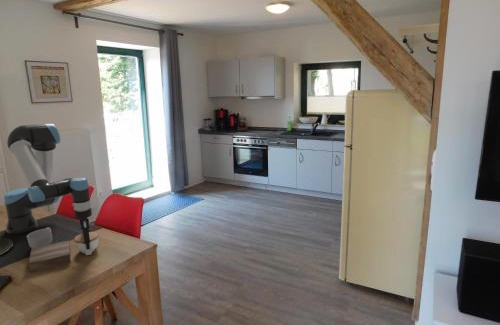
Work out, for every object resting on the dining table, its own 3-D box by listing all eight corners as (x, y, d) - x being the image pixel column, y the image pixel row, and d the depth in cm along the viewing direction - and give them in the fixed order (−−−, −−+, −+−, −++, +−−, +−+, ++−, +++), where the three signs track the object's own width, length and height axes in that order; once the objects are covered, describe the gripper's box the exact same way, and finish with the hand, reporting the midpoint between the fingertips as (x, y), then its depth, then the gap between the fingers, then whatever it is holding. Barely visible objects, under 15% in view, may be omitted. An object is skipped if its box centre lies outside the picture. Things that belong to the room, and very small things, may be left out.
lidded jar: (104, 248, 165) (102, 232, 163) (83, 257, 156) (81, 240, 154) (92, 243, 171) (90, 227, 168) (72, 251, 162) (69, 234, 160)
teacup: (41, 252, 161) (39, 238, 159) (23, 250, 163) (20, 236, 162) (62, 240, 174) (60, 226, 173) (45, 238, 177) (43, 225, 175)
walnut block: (33, 257, 158) (31, 248, 157) (70, 249, 165) (68, 240, 164) (30, 273, 144) (28, 263, 143) (70, 263, 152) (69, 254, 151)
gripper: (73, 203, 166) (78, 242, 171) (74, 218, 147) (80, 261, 152) (89, 200, 170) (94, 238, 175) (92, 215, 150) (98, 257, 155)
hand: (88, 249), depth 163 cm, fingers closed on lidded jar, 11 cm apart
